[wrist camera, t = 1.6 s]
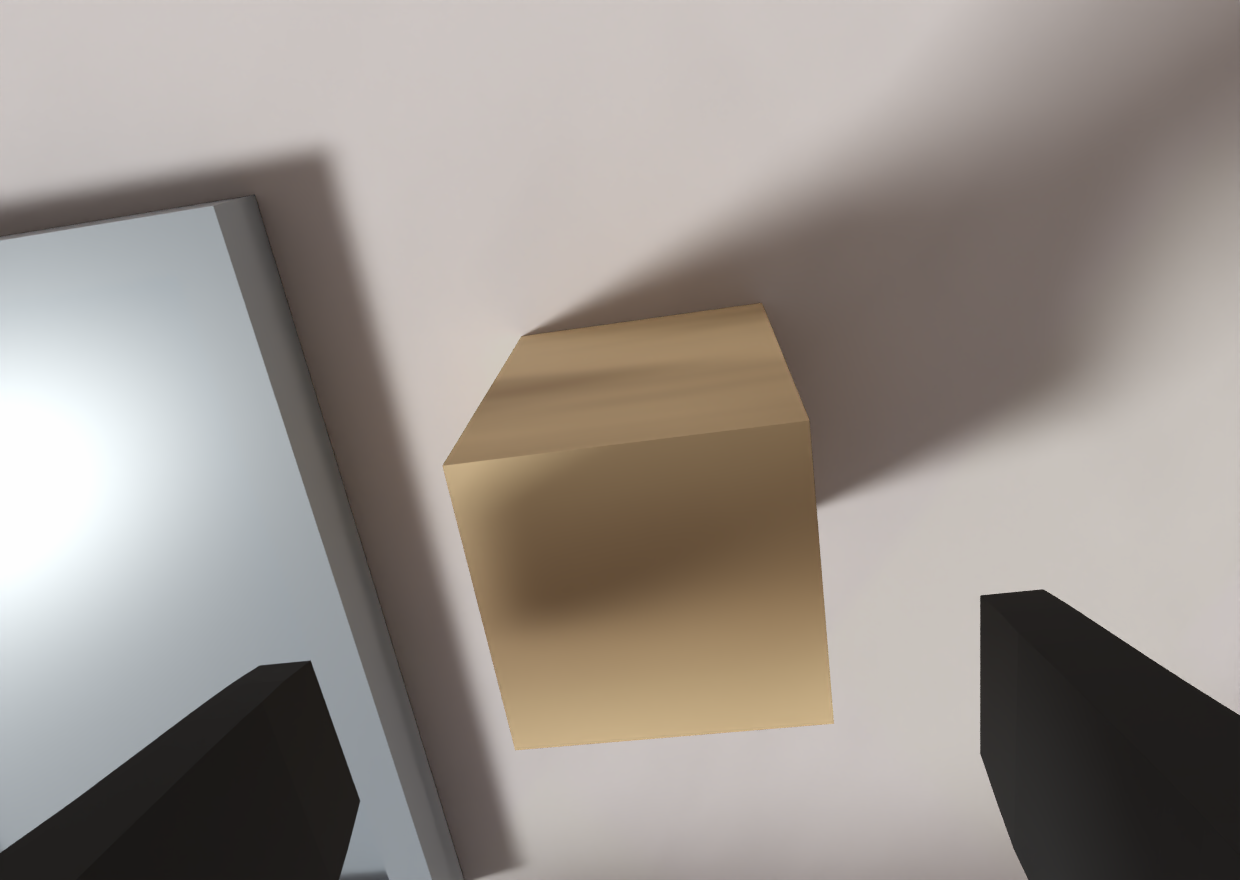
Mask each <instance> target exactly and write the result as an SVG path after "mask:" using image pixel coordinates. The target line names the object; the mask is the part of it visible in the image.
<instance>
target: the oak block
mask: <svg viewBox="0 0 1240 880" xmlns="http://www.w3.org/2000/svg"><path fill="white" fill-rule="evenodd" d="M443 470H444V474H445V478H446V481H447V485H448V489H449V493H450V497H451V501H452V505H453V509H454V513H455V517H456V521H457V524H458V528H459V532H460V536H461V540H462V544H463V548H464V552H465V556H466V560H467V564H468V567H469V571H470V575H471V579H472V583H473V587H474V591H475V595H476V599H477V603H478V607H479V610H480V614H481V618H482V622H483V626H484V630H485V634H486V638H487V642H488V646H489V650H490V653H491V657H492V661H493V665H494V669H495V673H496V677H497V681H498V685H499V689H500V692H501V696H502V700H503V704H504V708H505V712H506V716H507V720H508V724H509V728H510V732H511V735H512V739H513V743H514V747H515V750H524V749H536V748H548V747H560V746H572V745H583V744H595V743H607V742H619V741H631V740H643V739H655V738H667V737H679V736H691V735H703V734H715V733H727V732H739V731H751V730H763V729H775V728H787V727H798V726H810V725H822V724H834V720H833V707H832V695H831V683H830V670H829V658H828V645H827V633H826V620H825V608H824V595H823V583H822V570H821V558H820V545H819V533H818V520H817V508H816V496H815V483H814V471H813V458H812V446H811V433H810V421H809V418H808V416H807V413H806V411H805V408H804V406H803V403H802V401H801V398H800V396H799V393H798V391H797V388H796V386H795V384H794V381H793V379H792V376H791V374H790V371H789V369H788V366H787V364H786V361H785V359H784V356H783V354H782V351H781V349H780V347H779V344H778V342H777V339H776V337H775V334H774V332H773V329H772V327H771V324H770V322H769V319H768V317H767V314H766V312H765V309H764V307H763V305H762V303H757V304H750V305H742V306H735V307H728V308H721V309H714V310H707V311H699V312H692V313H685V314H678V315H671V316H663V317H656V318H649V319H642V320H635V321H628V322H620V323H613V324H606V325H599V326H592V327H585V328H577V329H570V330H563V331H556V332H549V333H541V334H534V335H527V336H521V338H520V340H519V341H518V343H517V345H516V346H515V348H514V349H513V351H512V353H511V354H510V356H509V358H508V359H507V361H506V363H505V364H504V366H503V367H502V369H501V371H500V372H499V374H498V376H497V377H496V379H495V381H494V382H493V384H492V385H491V387H490V389H489V390H488V392H487V394H486V395H485V397H484V399H483V400H482V402H481V404H480V405H479V407H478V408H477V410H476V412H475V413H474V415H473V417H472V418H471V420H470V422H469V423H468V425H467V426H466V428H465V430H464V431H463V433H462V435H461V436H460V438H459V440H458V441H457V443H456V444H455V446H454V448H453V449H452V451H451V453H450V454H449V456H448V458H447V459H446V461H445V462H444V464H443Z"/></svg>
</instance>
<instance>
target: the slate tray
mask: <svg viewBox="0 0 1240 880" xmlns="http://www.w3.org/2000/svg"><path fill="white" fill-rule="evenodd" d="M310 660H311V662H312V665H313V668H314V671H315V674H316V677H317V680H318V682H319V685H320V688H321V691H322V694H323V697H324V699H325V702H326V705H327V708H328V711H329V714H330V716H331V719H332V722H333V725H334V728H335V731H336V733H337V736H338V739H339V742H340V745H341V748H342V750H343V753H344V756H345V759H346V762H347V765H348V767H349V770H350V773H351V776H352V779H353V782H354V784H355V787H356V790H357V793H358V796H359V799H360V804H359V808H358V812H357V816H356V820H355V824H354V828H353V832H352V836H351V839H350V843H349V847H348V851H347V854H346V858H345V861H344V865H343V868H342V872H341V875H340V878H339V880H464V878H463V875H462V872H461V868H460V865H459V862H458V859H457V855H456V852H455V849H454V845H453V842H452V839H451V836H450V832H449V829H448V826H447V823H446V819H445V816H444V813H443V810H442V806H441V803H440V800H439V796H438V793H437V790H436V787H435V783H434V780H433V777H432V774H431V770H430V767H429V764H428V760H427V757H426V754H425V751H424V747H423V744H422V741H421V738H420V734H419V731H418V728H417V725H416V721H415V718H414V715H413V711H412V708H411V705H410V702H409V698H408V695H407V692H406V689H405V685H404V682H403V679H402V675H401V672H400V669H399V666H398V662H397V659H396V656H395V653H394V649H393V646H392V643H391V639H390V636H389V633H388V630H387V626H386V623H385V620H384V617H383V613H382V610H381V607H380V604H379V600H378V597H377V594H376V590H375V587H374V584H373V581H372V577H371V574H370V571H369V568H368V564H367V561H366V558H365V554H364V551H363V548H362V545H361V541H360V538H359V535H358V532H357V528H356V525H355V522H354V518H353V515H352V512H351V509H350V505H349V502H348V499H347V496H346V492H345V489H344V486H343V483H342V479H341V476H340V473H339V469H338V466H337V463H336V460H335V456H334V453H333V450H332V447H331V443H330V440H329V437H328V433H327V430H326V427H325V424H324V420H323V417H322V414H321V411H320V407H319V404H318V401H317V397H316V394H315V391H314V388H313V384H312V381H311V378H310V375H309V371H308V368H307V365H306V362H305V358H304V355H303V352H302V348H301V345H300V342H299V339H298V335H297V332H296V329H295V326H294V322H293V319H292V316H291V312H290V309H289V306H288V303H287V299H286V296H285V293H284V290H283V286H282V283H281V280H280V276H279V273H278V270H277V267H276V263H275V260H274V257H273V254H272V250H271V247H270V244H269V241H268V237H267V234H266V231H265V227H264V224H263V221H262V218H261V214H260V211H259V208H258V205H257V201H256V198H255V195H251V196H245V197H239V198H233V199H227V200H221V201H215V202H209V203H202V204H196V205H190V206H184V207H178V208H172V209H166V210H160V211H154V212H148V213H142V214H136V215H129V216H123V217H117V218H111V219H105V220H99V221H93V222H87V223H81V224H75V225H69V226H63V227H56V228H50V229H44V230H38V231H32V232H26V233H20V234H14V235H8V236H2V237H0V853H1V852H2V851H3V850H5V849H6V848H8V847H9V846H10V845H12V844H13V843H15V842H16V841H17V840H19V839H20V838H22V837H23V836H25V835H26V834H27V833H29V832H30V831H32V830H33V829H34V828H36V827H37V826H39V825H40V824H41V823H43V822H44V821H46V820H47V819H49V818H50V817H51V816H53V815H54V814H56V813H57V812H58V811H60V810H61V809H63V808H64V807H65V806H67V805H68V804H70V803H71V802H72V801H74V800H75V799H76V798H78V797H79V796H81V795H82V794H83V793H85V792H86V791H87V790H89V789H90V788H91V787H93V786H94V785H95V784H97V783H98V782H99V781H101V780H102V779H103V778H105V777H106V776H107V775H109V774H110V773H111V772H113V771H114V770H115V769H117V768H118V767H119V766H121V765H122V764H123V763H125V762H126V761H127V760H129V759H130V758H131V757H133V756H134V755H135V754H137V753H138V752H139V751H141V750H142V749H143V748H145V747H146V746H147V745H149V744H150V743H151V742H153V741H154V740H155V739H157V738H158V737H159V736H161V735H162V734H163V733H165V732H166V731H167V730H169V729H170V728H171V727H173V726H174V725H175V724H177V723H178V722H179V721H181V720H182V719H183V718H185V717H186V716H187V715H189V714H190V713H191V712H193V711H194V710H195V709H197V708H198V707H199V706H201V705H202V704H203V703H205V702H206V701H208V700H209V699H210V698H212V697H213V696H214V695H216V694H217V693H219V692H220V691H222V690H223V689H224V688H226V687H227V686H229V685H230V684H232V683H233V682H234V681H236V680H237V679H239V678H240V677H242V676H244V675H245V674H247V673H248V672H250V671H252V670H253V669H255V668H256V667H258V666H260V665H269V664H279V663H290V662H300V661H310Z"/></svg>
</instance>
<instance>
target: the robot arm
mask: <svg viewBox="0 0 1240 880" xmlns="http://www.w3.org/2000/svg"><path fill="white" fill-rule="evenodd" d="M980 754H981V757H982V760H983V763H984V765H985V768H986V771H987V774H988V777H989V780H990V783H991V786H992V789H993V792H994V795H995V798H996V801H997V804H998V806H999V809H1000V812H1001V815H1002V817H1003V820H1004V823H1005V826H1006V828H1007V831H1008V834H1009V837H1010V840H1011V842H1012V845H1013V848H1014V850H1015V852H1016V854H1017V857H1018V859H1019V861H1020V863H1021V865H1022V867H1023V869H1024V871H1025V873H1026V876H1027V878H1028V880H1240V715H1238V714H1237V713H1235V712H1234V711H1232V710H1230V709H1229V708H1227V707H1225V706H1224V705H1222V704H1221V703H1219V702H1217V701H1216V700H1214V699H1213V698H1211V697H1209V696H1208V695H1206V694H1205V693H1203V692H1201V691H1200V690H1198V689H1197V688H1195V687H1194V686H1192V685H1190V684H1189V683H1187V682H1186V681H1184V680H1182V679H1181V678H1179V677H1178V676H1176V675H1175V674H1173V673H1172V672H1170V671H1169V670H1167V669H1165V668H1164V667H1162V666H1161V665H1159V664H1158V663H1156V662H1155V661H1153V660H1152V659H1150V658H1148V657H1147V656H1145V655H1144V654H1142V653H1141V652H1139V651H1138V650H1136V649H1135V648H1133V647H1132V646H1130V645H1129V644H1127V643H1126V642H1124V641H1123V640H1121V639H1120V638H1118V637H1116V636H1115V635H1113V634H1112V633H1110V632H1109V631H1107V630H1106V629H1104V628H1103V627H1101V626H1100V625H1098V624H1097V623H1095V622H1094V621H1092V620H1091V619H1089V618H1088V617H1086V616H1085V615H1083V614H1082V613H1080V612H1079V611H1077V610H1075V609H1074V608H1072V607H1071V606H1069V605H1068V604H1066V603H1065V602H1063V601H1061V600H1060V599H1058V598H1057V597H1055V596H1053V595H1052V594H1050V593H1048V592H1047V591H1045V590H1032V591H1022V592H1012V593H1001V594H991V595H981V596H980ZM359 804H360V799H359V796H358V793H357V790H356V787H355V784H354V782H353V779H352V776H351V773H350V770H349V767H348V765H347V762H346V759H345V756H344V753H343V750H342V748H341V745H340V742H339V739H338V736H337V733H336V731H335V728H334V725H333V722H332V719H331V716H330V714H329V711H328V708H327V705H326V702H325V699H324V697H323V694H322V691H321V688H320V685H319V682H318V680H317V677H316V674H315V671H314V668H313V665H312V662H311V660H310V661H300V662H290V663H279V664H269V665H260V666H258V667H256V668H255V669H253V670H252V671H250V672H248V673H247V674H245V675H244V676H242V677H240V678H239V679H237V680H236V681H234V682H233V683H232V684H230V685H229V686H227V687H226V688H224V689H223V690H222V691H220V692H219V693H217V694H216V695H214V696H213V697H212V698H210V699H209V700H208V701H206V702H205V703H203V704H202V705H201V706H199V707H198V708H197V709H195V710H194V711H193V712H191V713H190V714H189V715H187V716H186V717H185V718H183V719H182V720H181V721H179V722H178V723H177V724H175V725H174V726H173V727H171V728H170V729H169V730H167V731H166V732H165V733H163V734H162V735H161V736H159V737H158V738H157V739H155V740H154V741H153V742H151V743H150V744H149V745H147V746H146V747H145V748H143V749H142V750H141V751H139V752H138V753H137V754H135V755H134V756H133V757H131V758H130V759H129V760H127V761H126V762H125V763H123V764H122V765H121V766H119V767H118V768H117V769H115V770H114V771H113V772H111V773H110V774H109V775H107V776H106V777H105V778H103V779H102V780H101V781H99V782H98V783H97V784H95V785H94V786H93V787H91V788H90V789H89V790H87V791H86V792H85V793H83V794H82V795H81V796H79V797H78V798H76V799H75V800H74V801H72V802H71V803H70V804H68V805H67V806H65V807H64V808H63V809H61V810H60V811H58V812H57V813H56V814H54V815H53V816H51V817H50V818H49V819H47V820H46V821H44V822H43V823H41V824H40V825H39V826H37V827H36V828H34V829H33V830H32V831H30V832H29V833H27V834H26V835H25V836H23V837H22V838H20V839H19V840H17V841H16V842H15V843H13V844H12V845H10V846H9V847H8V848H6V849H5V850H3V851H2V852H1V853H0V880H339V878H340V875H341V872H342V868H343V865H344V861H345V858H346V854H347V851H348V847H349V843H350V839H351V836H352V832H353V828H354V824H355V820H356V816H357V812H358V808H359Z"/></svg>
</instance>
